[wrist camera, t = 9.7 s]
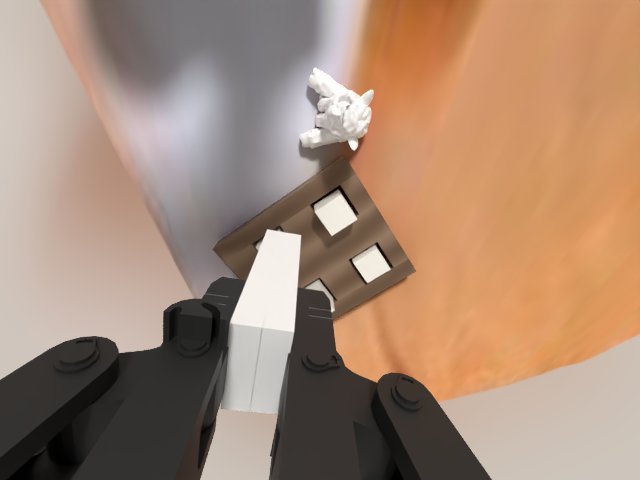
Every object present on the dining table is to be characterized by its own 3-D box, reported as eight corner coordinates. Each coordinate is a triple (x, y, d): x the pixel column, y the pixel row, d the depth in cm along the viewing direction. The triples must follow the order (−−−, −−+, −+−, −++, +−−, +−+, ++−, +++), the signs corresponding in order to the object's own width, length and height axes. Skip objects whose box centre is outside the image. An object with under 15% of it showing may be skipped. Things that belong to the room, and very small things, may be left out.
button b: (297, 292, 46) (296, 304, 43) (318, 279, 46) (319, 291, 42) (312, 310, 47) (312, 323, 44) (333, 297, 47) (334, 310, 44)
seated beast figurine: (309, 67, 37) (309, 43, 26) (375, 81, 38) (403, 63, 27) (298, 145, 41) (294, 153, 29) (359, 156, 41) (378, 168, 30)
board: (218, 241, 45) (211, 250, 42) (343, 155, 41) (346, 158, 38) (295, 329, 52) (294, 343, 48) (409, 262, 48) (417, 272, 44)
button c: (314, 205, 41) (314, 211, 38) (338, 188, 41) (340, 194, 37) (329, 227, 43) (331, 235, 39) (353, 212, 42) (357, 219, 39)
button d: (350, 253, 46) (353, 263, 43) (372, 239, 46) (377, 248, 42) (363, 272, 48) (367, 283, 44) (385, 259, 47) (390, 269, 44)
